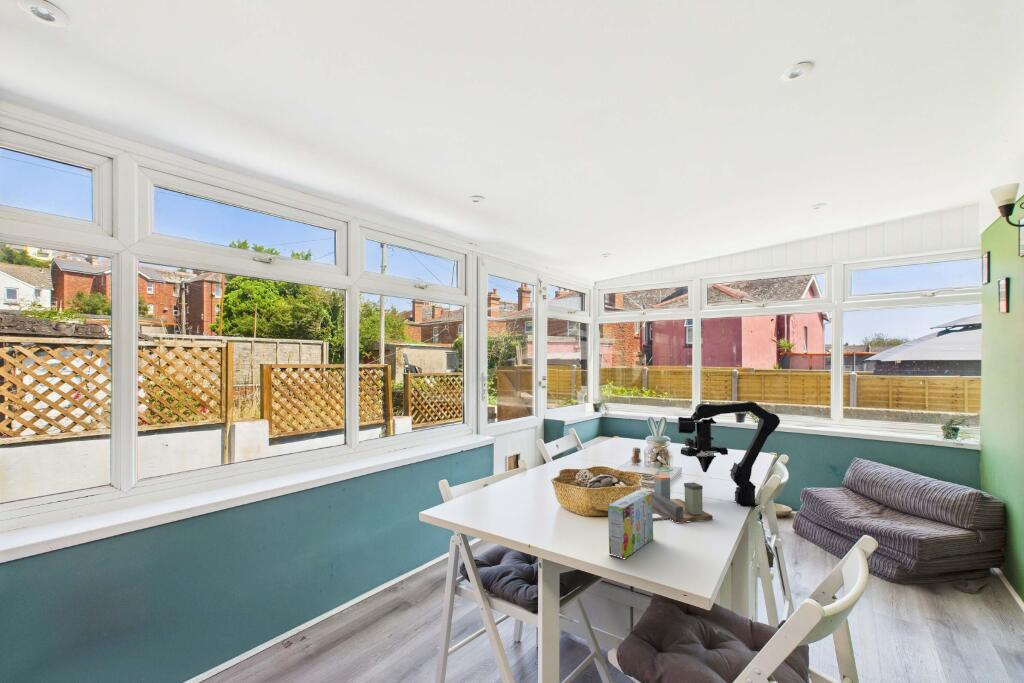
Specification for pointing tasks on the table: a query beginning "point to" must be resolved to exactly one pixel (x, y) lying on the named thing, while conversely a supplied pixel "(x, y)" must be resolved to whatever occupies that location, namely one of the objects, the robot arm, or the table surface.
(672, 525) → the table surface
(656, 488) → the orange-capped grey pillar
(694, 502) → the tall green block
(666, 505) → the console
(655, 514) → the card
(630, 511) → the snack box
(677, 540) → the table surface
